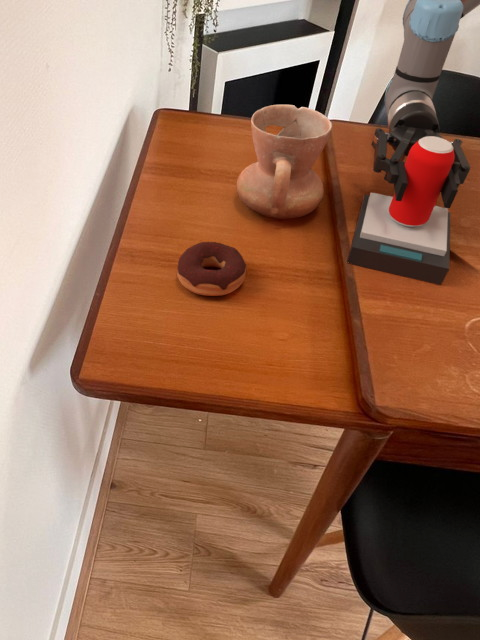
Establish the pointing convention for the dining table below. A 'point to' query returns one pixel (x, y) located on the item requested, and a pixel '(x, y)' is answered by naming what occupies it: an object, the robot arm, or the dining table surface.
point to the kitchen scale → (401, 242)
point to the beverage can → (423, 180)
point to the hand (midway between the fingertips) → (426, 195)
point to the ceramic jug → (285, 162)
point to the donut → (211, 280)
